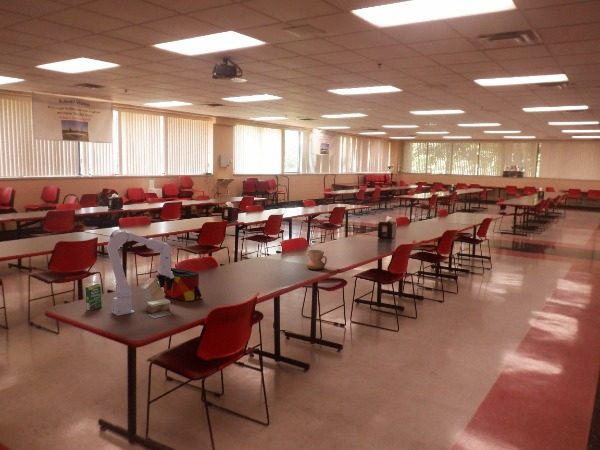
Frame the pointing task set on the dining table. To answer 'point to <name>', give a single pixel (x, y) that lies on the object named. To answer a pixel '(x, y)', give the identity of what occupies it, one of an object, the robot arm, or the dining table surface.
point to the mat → (159, 314)
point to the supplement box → (153, 290)
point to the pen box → (158, 308)
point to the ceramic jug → (316, 259)
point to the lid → (158, 302)
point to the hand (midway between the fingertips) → (165, 288)
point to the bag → (184, 286)
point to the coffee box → (93, 297)
